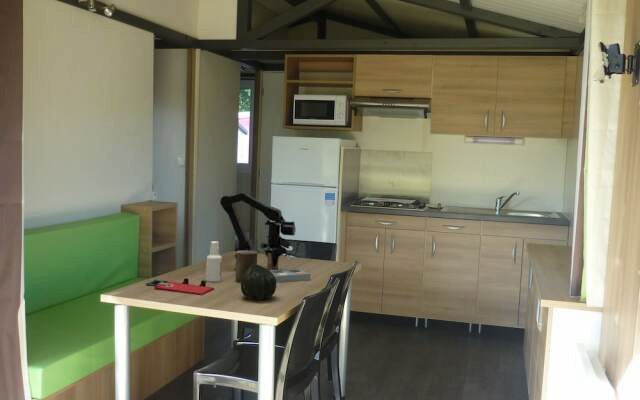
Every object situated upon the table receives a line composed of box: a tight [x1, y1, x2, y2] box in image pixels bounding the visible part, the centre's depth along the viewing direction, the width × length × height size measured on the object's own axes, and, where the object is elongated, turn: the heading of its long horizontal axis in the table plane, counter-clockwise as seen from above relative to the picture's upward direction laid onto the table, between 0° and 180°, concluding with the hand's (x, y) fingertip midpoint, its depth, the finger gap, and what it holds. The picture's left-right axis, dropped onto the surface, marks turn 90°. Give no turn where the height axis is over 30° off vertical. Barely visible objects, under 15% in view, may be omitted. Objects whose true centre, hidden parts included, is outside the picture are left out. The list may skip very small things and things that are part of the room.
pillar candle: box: [235, 250, 258, 283], centre depth 274 cm, size 10×10×15 cm
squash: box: [240, 263, 277, 301], centre depth 245 cm, size 14×15×15 cm
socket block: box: [270, 268, 311, 284], centre depth 284 cm, size 18×13×3 cm
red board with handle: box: [145, 278, 215, 296], centre depth 256 cm, size 30×3×15 cm
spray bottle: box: [205, 240, 223, 283], centre depth 272 cm, size 7×7×18 cm
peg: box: [266, 253, 279, 270], centre depth 294 cm, size 4×4×10 cm
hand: (272, 265), depth 294 cm, fingers closed on peg, 4 cm apart
